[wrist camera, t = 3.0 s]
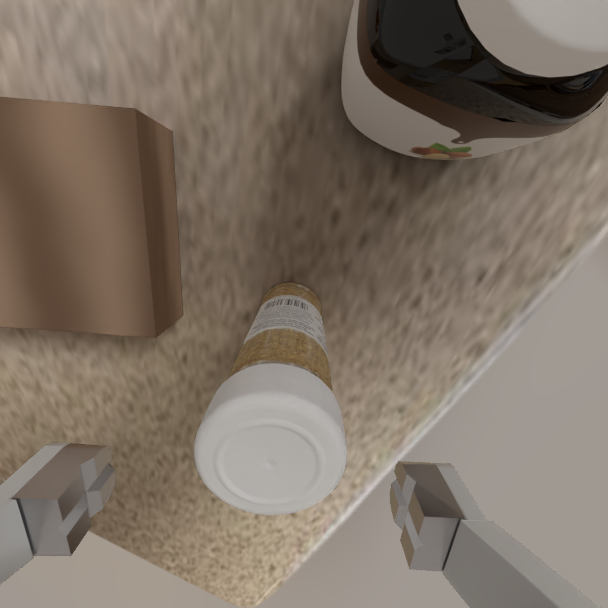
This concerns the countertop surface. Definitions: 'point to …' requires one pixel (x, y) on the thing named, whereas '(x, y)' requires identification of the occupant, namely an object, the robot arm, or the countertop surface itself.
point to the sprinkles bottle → (275, 413)
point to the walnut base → (87, 220)
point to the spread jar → (472, 72)
